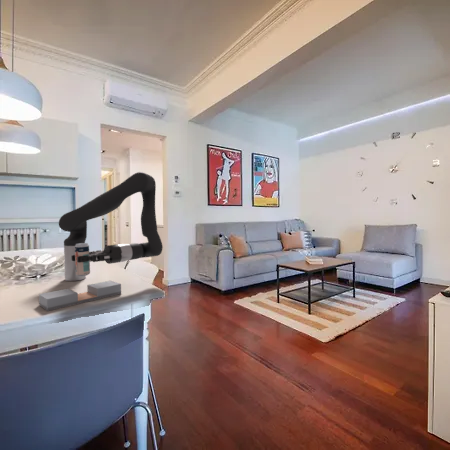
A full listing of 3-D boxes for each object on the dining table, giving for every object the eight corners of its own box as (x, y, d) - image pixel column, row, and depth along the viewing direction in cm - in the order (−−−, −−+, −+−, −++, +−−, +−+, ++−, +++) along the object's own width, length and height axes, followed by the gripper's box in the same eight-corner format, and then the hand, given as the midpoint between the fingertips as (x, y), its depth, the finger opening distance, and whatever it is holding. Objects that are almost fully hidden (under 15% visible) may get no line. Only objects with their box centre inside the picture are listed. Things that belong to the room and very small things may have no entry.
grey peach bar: (39, 305, 95) (38, 294, 95) (110, 289, 115) (110, 280, 115) (47, 311, 89) (47, 299, 89) (121, 293, 109) (120, 283, 109)
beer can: (79, 273, 104) (78, 243, 104) (92, 273, 104) (90, 242, 104) (73, 276, 99) (72, 244, 99) (86, 276, 100) (85, 244, 99)
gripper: (109, 243, 117) (67, 247, 104) (126, 245, 108) (82, 250, 95) (110, 260, 117) (67, 266, 104) (127, 264, 108) (82, 271, 95)
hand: (74, 258), depth 100 cm, fingers closed on beer can, 4 cm apart
